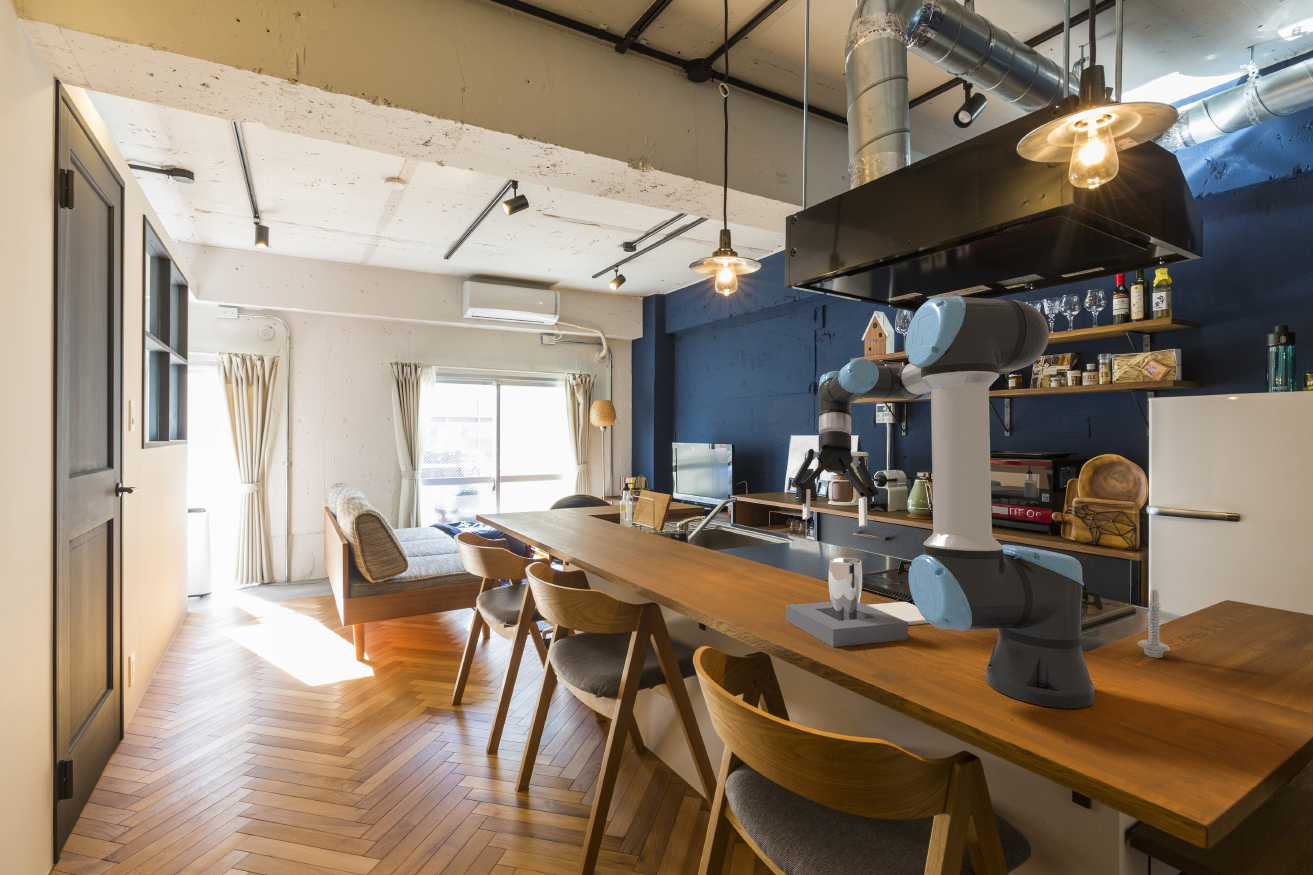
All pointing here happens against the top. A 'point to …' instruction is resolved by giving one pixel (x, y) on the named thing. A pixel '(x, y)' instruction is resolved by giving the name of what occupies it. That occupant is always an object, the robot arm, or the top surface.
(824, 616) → the pocket holder
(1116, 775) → the top surface
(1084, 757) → the top surface
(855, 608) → the metal tumbler
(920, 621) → the stone tile
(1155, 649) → the screw
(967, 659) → the top surface
